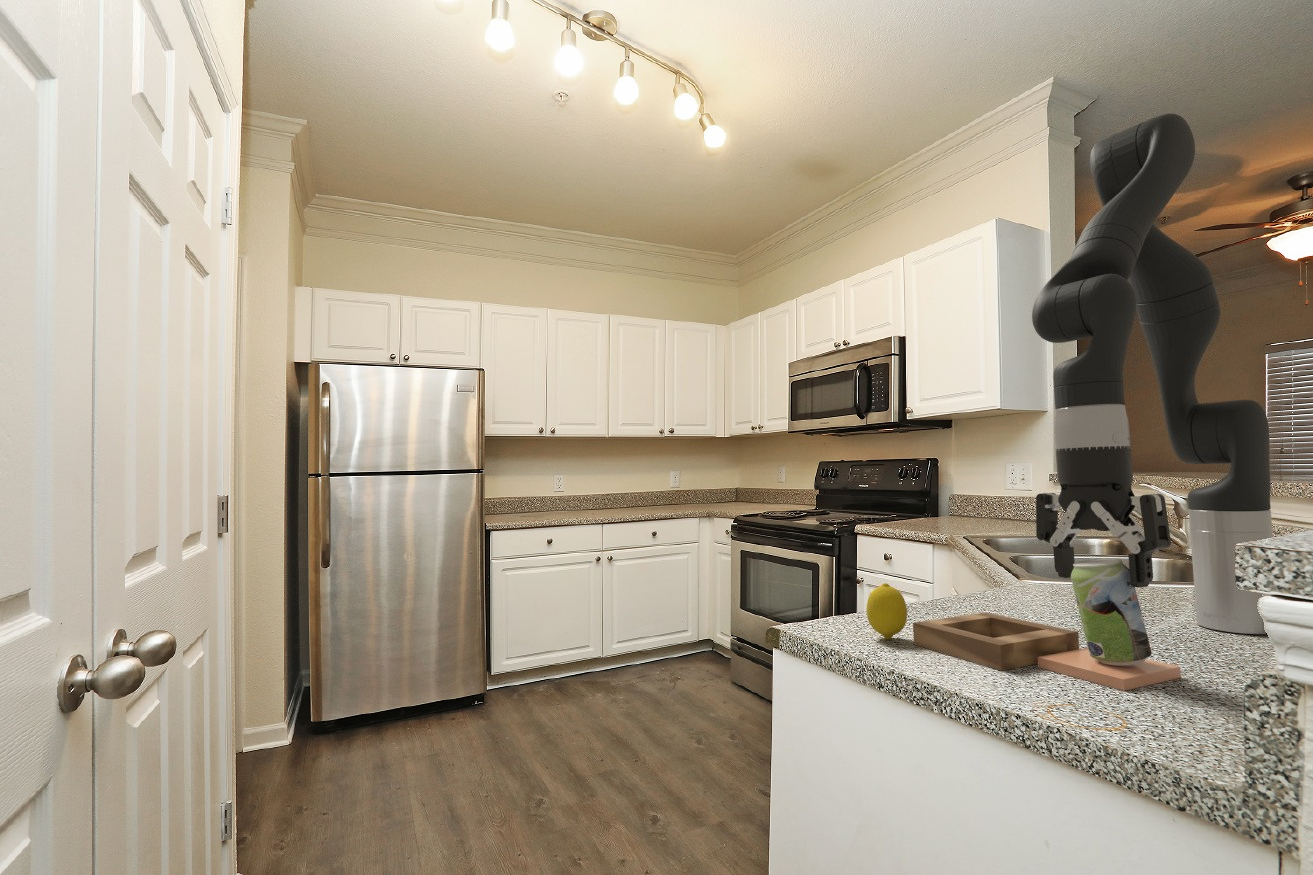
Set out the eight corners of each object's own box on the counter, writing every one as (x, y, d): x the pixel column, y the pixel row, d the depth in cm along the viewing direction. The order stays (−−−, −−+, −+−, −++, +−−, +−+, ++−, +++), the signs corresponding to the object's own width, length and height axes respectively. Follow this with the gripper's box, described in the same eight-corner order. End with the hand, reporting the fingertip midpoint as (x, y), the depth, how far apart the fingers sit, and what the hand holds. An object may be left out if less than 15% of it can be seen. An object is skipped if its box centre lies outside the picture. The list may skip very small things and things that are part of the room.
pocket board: (986, 632, 97) (985, 612, 97) (1079, 655, 84) (1078, 631, 84) (914, 644, 92) (912, 622, 92) (1001, 670, 79) (999, 645, 79)
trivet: (1092, 656, 84) (1092, 646, 84) (1180, 677, 74) (1180, 666, 74) (1038, 666, 80) (1037, 656, 80) (1123, 690, 70) (1123, 679, 71)
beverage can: (1164, 671, 73) (1155, 562, 74) (1090, 669, 74) (1083, 562, 75) (1135, 656, 79) (1127, 555, 80) (1067, 654, 80) (1061, 555, 81)
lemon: (893, 646, 91) (890, 587, 91) (859, 638, 95) (857, 583, 96) (916, 639, 94) (913, 583, 95) (882, 632, 99) (880, 579, 99)
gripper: (1177, 441, 74) (1188, 587, 73) (1056, 447, 87) (1065, 571, 86) (1134, 441, 71) (1146, 594, 70) (1016, 448, 84) (1024, 576, 83)
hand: (1101, 581), depth 78 cm, fingers open, 8 cm apart
